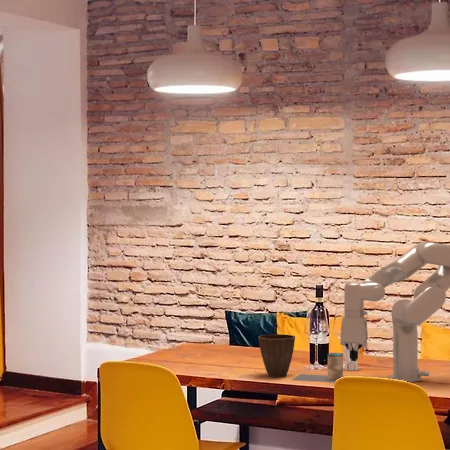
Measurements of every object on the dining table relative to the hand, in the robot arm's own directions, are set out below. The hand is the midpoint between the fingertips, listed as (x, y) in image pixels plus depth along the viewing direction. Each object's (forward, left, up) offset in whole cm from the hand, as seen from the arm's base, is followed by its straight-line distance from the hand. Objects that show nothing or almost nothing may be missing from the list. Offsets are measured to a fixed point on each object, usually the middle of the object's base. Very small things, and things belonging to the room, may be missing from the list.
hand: (353, 360), depth 386 cm
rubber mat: (+12, 0, -8) cm, 15 cm away
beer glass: (+6, -27, -8) cm, 29 cm away
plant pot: (+32, -4, -8) cm, 34 cm away
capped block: (+7, 0, -8) cm, 11 cm away
